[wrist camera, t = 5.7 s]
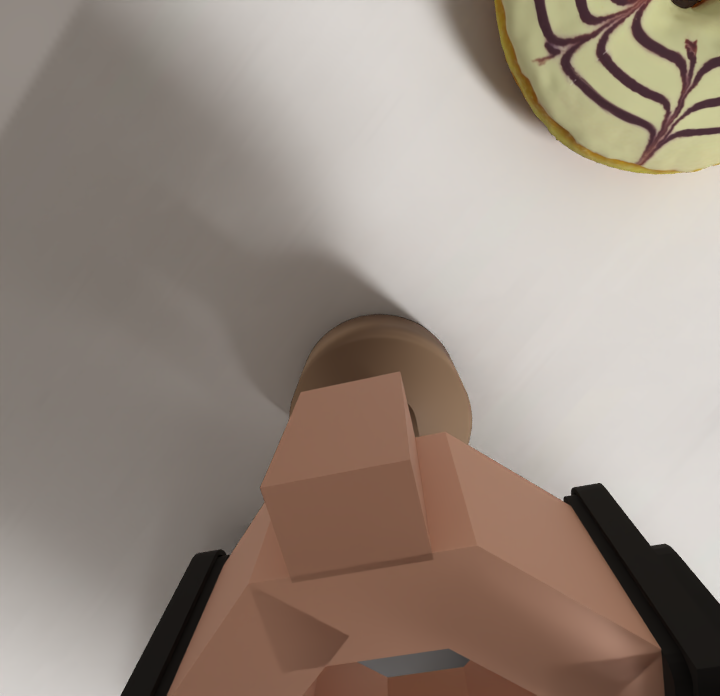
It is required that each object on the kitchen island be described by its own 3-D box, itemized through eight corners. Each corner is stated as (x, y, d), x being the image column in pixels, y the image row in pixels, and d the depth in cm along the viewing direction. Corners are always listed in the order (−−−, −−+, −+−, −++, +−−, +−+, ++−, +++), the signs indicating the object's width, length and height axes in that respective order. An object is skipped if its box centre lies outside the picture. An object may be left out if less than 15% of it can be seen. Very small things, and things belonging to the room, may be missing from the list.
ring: (551, 339, 8) (646, 414, 5) (599, 702, 10) (684, 894, 7) (164, 420, 9) (60, 526, 6) (288, 742, 11) (255, 931, 8)
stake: (441, 298, 17) (524, 428, 8) (468, 441, 19) (562, 687, 10) (283, 333, 18) (183, 496, 8) (323, 469, 20) (279, 728, 10)
